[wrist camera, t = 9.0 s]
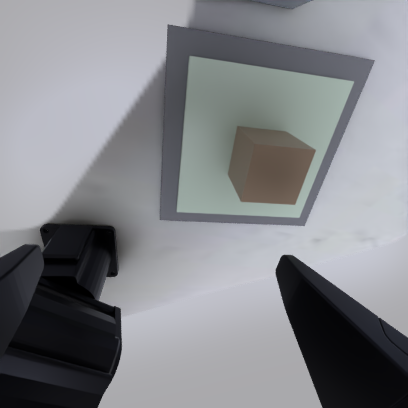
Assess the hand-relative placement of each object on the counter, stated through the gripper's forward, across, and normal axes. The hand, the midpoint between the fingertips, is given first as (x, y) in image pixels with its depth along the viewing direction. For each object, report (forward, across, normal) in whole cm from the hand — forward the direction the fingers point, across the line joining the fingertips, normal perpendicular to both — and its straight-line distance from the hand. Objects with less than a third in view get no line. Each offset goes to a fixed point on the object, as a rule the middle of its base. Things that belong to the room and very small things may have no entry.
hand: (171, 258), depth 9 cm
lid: (+12, -7, -1) cm, 14 cm away
